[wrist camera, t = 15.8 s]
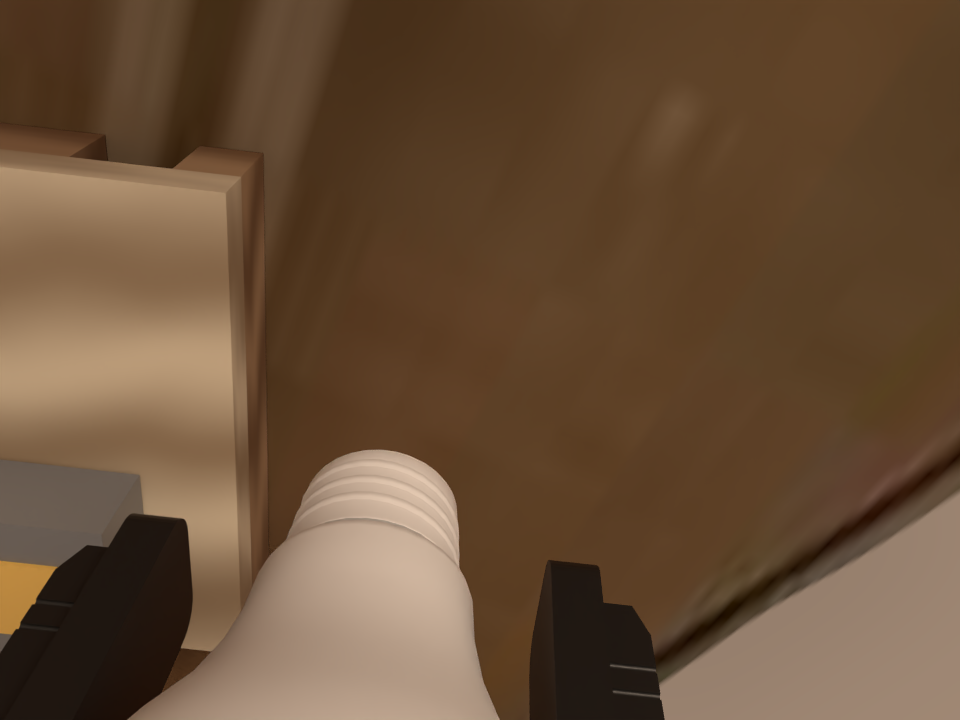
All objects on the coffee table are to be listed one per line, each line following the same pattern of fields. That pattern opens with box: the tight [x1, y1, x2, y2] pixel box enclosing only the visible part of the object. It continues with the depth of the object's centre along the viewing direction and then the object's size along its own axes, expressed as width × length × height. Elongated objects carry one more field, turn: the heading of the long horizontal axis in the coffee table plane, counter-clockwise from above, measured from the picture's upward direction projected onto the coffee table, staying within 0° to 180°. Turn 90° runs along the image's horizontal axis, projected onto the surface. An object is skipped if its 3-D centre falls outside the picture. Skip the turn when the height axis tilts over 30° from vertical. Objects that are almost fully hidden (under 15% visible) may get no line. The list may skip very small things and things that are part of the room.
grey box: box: [0, 460, 144, 652], centre depth 29 cm, size 6×7×3 cm
